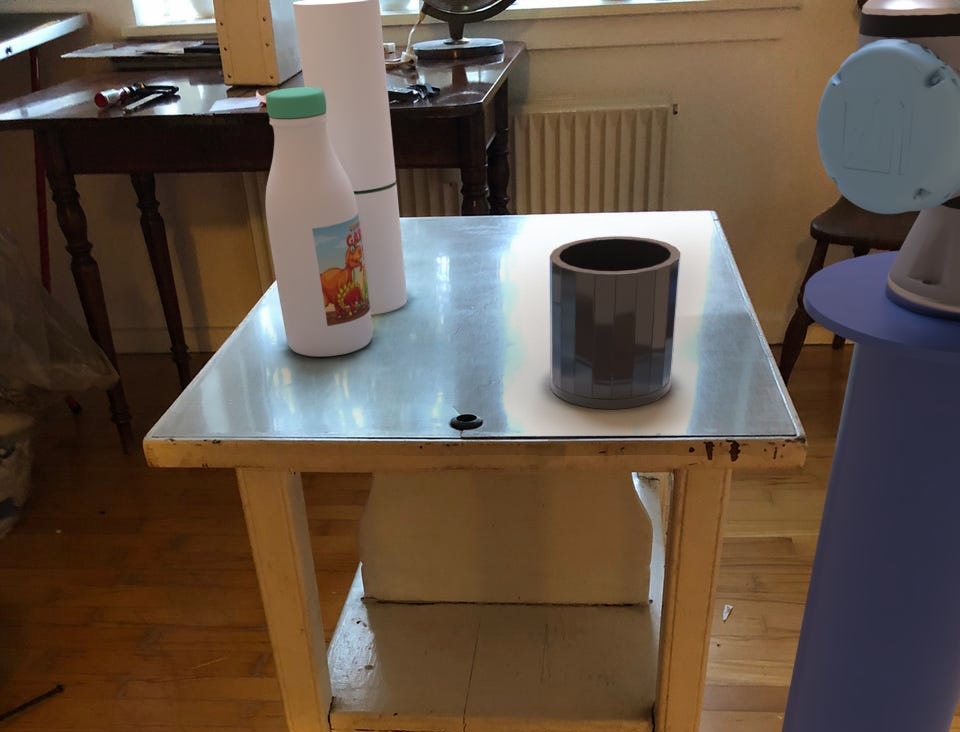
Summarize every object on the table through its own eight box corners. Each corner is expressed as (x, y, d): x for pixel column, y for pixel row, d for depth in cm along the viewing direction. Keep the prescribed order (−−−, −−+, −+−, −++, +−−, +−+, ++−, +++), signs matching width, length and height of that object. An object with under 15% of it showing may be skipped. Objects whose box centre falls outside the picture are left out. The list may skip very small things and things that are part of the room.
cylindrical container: (381, 286, 100) (350, -5, 85) (421, 302, 95) (395, -3, 80) (321, 302, 97) (277, 3, 81) (359, 320, 92) (320, 5, 77)
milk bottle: (299, 365, 84) (255, 102, 71) (279, 337, 89) (235, 89, 77) (384, 349, 86) (356, 91, 74) (360, 322, 91) (329, 79, 79)
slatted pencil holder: (675, 364, 80) (685, 237, 74) (664, 412, 73) (673, 275, 66) (562, 359, 82) (562, 235, 76) (540, 405, 75) (538, 272, 69)
